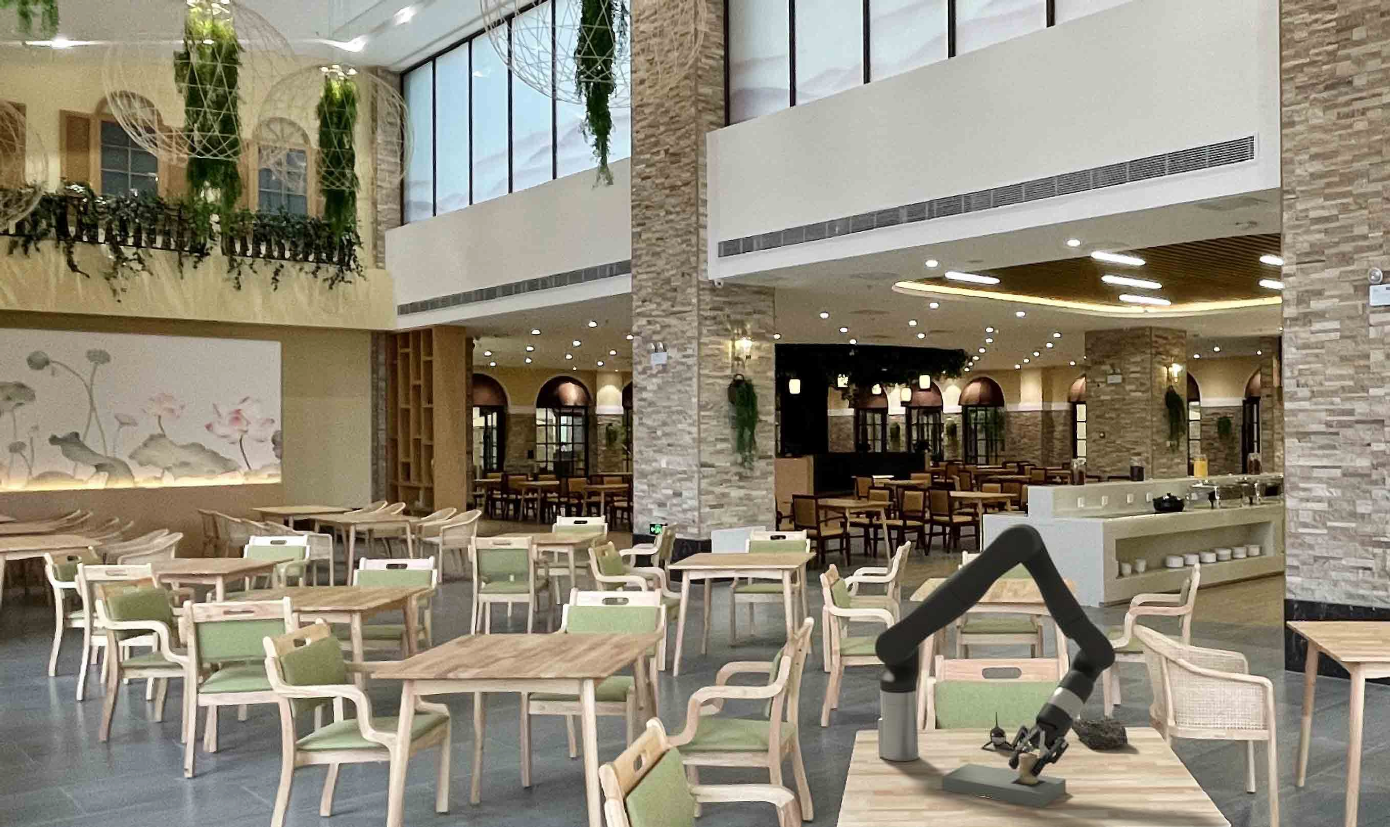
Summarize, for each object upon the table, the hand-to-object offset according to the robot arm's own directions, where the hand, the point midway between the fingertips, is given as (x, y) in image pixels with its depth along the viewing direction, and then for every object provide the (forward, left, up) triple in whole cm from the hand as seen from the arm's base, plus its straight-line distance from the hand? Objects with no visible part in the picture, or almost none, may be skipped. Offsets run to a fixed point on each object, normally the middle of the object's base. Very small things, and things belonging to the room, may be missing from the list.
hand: (1022, 770), depth 269 cm
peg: (+1, +2, -6) cm, 6 cm away
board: (-5, +2, -6) cm, 8 cm away
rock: (-3, +57, -6) cm, 57 cm away
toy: (-25, +41, -6) cm, 48 cm away
